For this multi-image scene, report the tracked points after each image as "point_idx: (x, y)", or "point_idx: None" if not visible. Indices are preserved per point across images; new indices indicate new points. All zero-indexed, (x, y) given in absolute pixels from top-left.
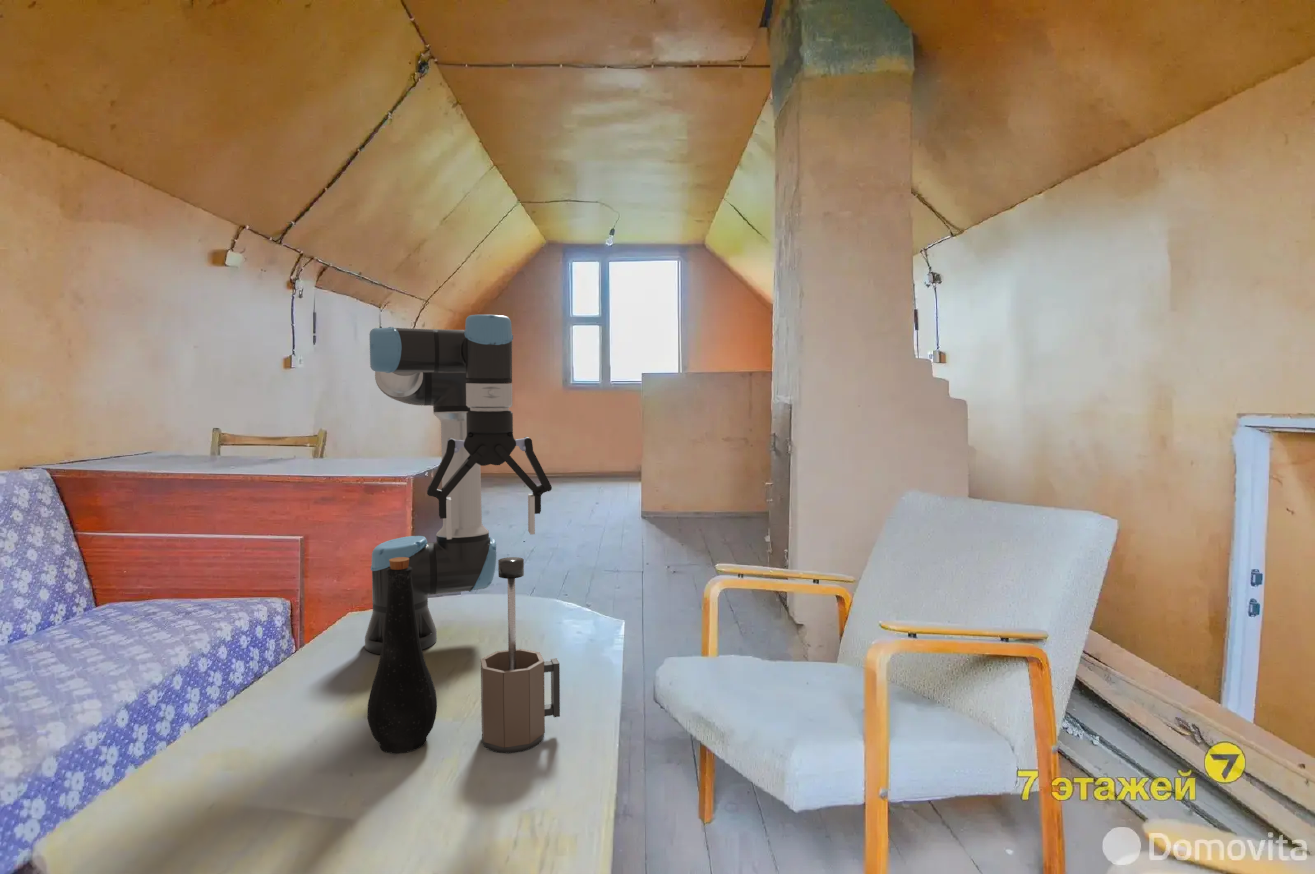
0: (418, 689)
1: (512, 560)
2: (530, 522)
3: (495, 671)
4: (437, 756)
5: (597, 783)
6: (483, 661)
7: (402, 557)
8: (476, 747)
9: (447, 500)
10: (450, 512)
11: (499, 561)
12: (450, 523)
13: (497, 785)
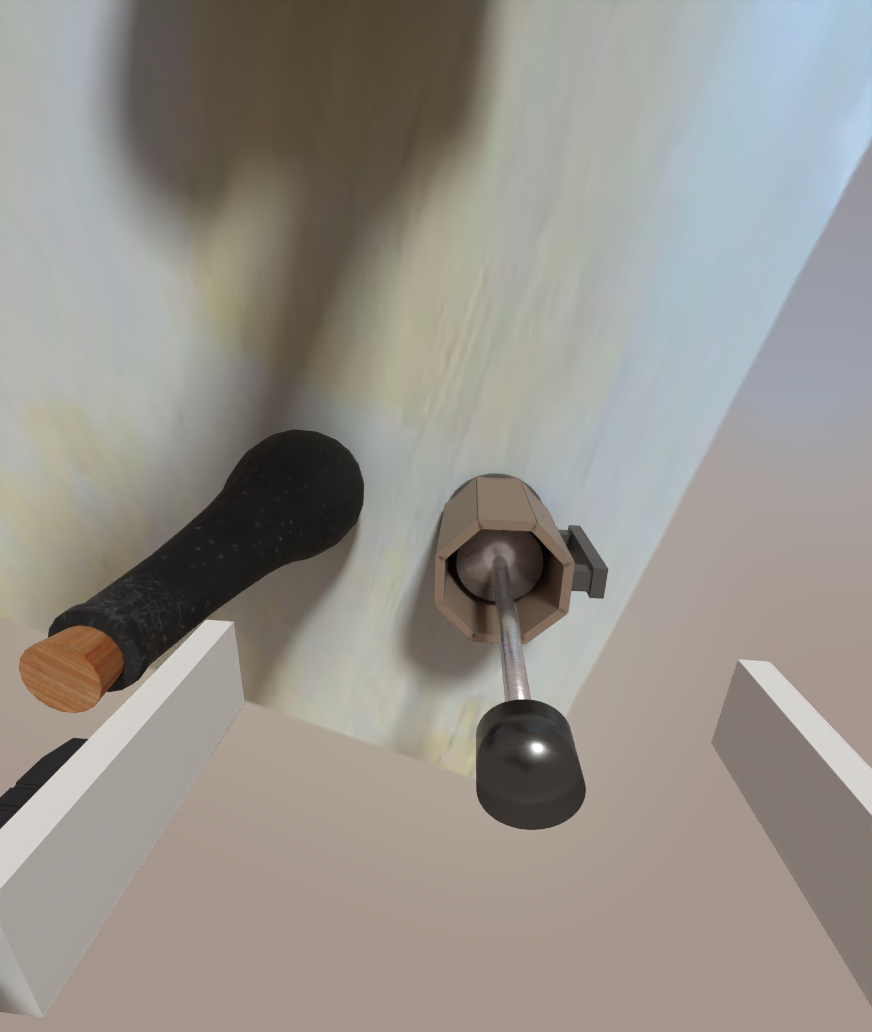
0: (316, 553)
1: (534, 798)
2: (757, 816)
3: (457, 627)
4: (374, 539)
5: (573, 679)
6: (439, 569)
7: (65, 651)
8: (433, 533)
9: (12, 1008)
10: (132, 871)
11: (479, 792)
12: (186, 784)
13: (448, 639)
